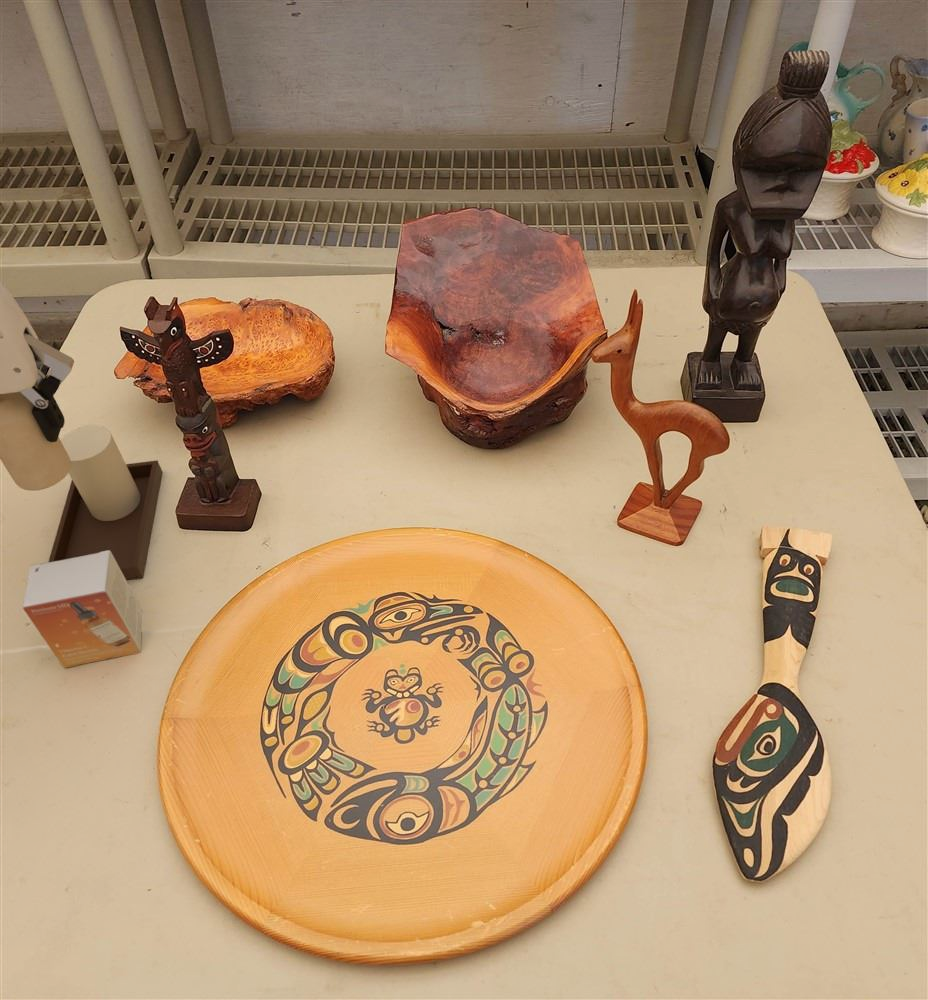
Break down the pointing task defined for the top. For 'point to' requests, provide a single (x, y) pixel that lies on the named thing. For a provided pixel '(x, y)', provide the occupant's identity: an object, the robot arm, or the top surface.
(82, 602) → the small box
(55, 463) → the candle
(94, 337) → the top surface
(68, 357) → the robot arm
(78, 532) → the tray
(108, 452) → the pillar
